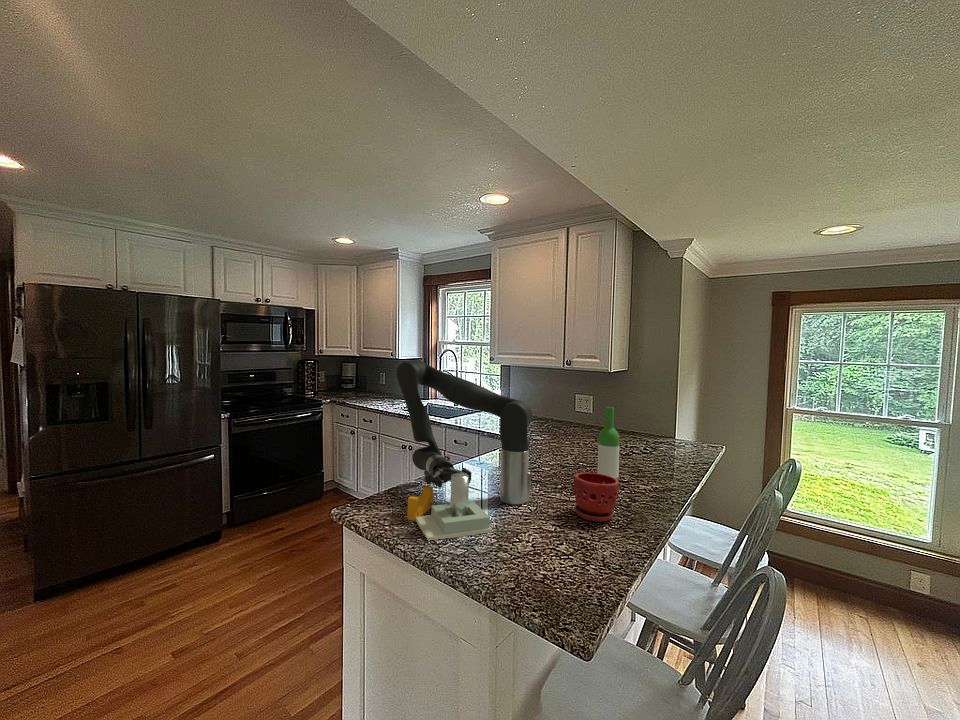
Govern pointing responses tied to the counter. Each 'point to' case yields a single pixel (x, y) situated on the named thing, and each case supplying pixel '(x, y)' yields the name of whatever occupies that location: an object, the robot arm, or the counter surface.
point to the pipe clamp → (420, 503)
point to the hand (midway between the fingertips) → (454, 482)
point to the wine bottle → (608, 447)
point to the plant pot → (595, 496)
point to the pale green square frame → (454, 522)
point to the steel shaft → (459, 494)
